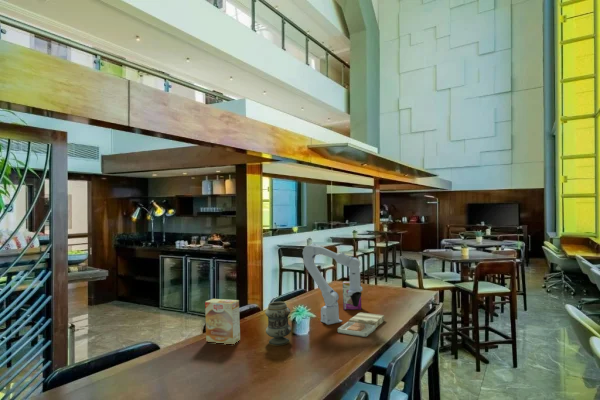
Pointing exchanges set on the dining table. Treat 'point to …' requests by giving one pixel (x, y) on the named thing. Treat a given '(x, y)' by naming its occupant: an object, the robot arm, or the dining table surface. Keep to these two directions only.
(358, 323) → the back tile
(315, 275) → the robot arm
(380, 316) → the plate
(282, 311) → the carved stone vase
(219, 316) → the coffeecake box
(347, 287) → the candy bar box
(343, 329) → the box
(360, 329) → the front tile
